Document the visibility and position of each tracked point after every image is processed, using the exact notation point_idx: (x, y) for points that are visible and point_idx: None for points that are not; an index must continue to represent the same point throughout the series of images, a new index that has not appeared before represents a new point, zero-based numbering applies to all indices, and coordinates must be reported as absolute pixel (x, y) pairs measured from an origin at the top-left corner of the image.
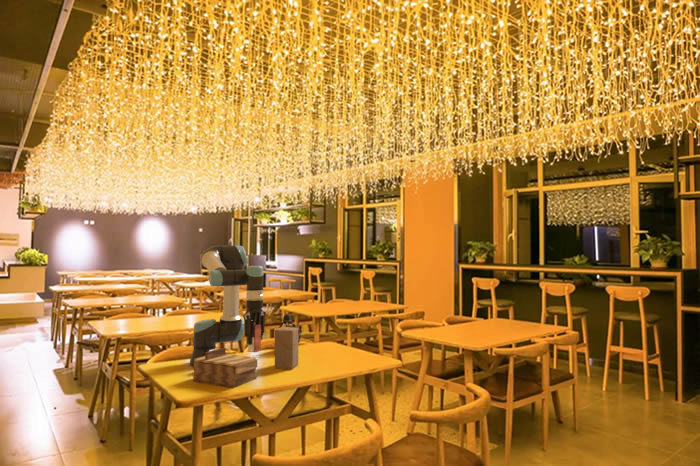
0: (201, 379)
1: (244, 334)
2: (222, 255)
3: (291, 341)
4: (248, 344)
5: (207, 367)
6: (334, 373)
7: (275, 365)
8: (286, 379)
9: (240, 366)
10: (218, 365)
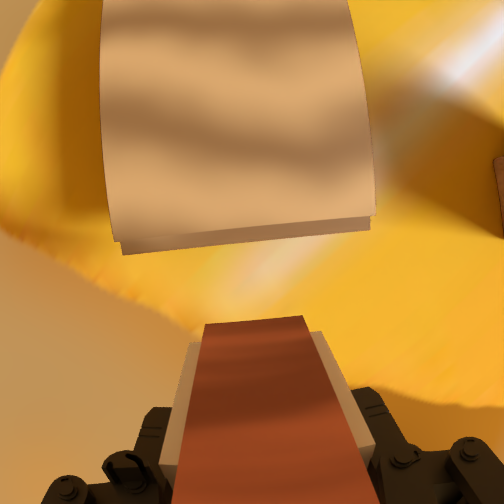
0: None
1: (45, 494)
2: None
3: None
4: (153, 412)
5: None
6: (481, 391)
7: (501, 165)
8: (386, 327)
9: (162, 249)
10: (99, 93)
